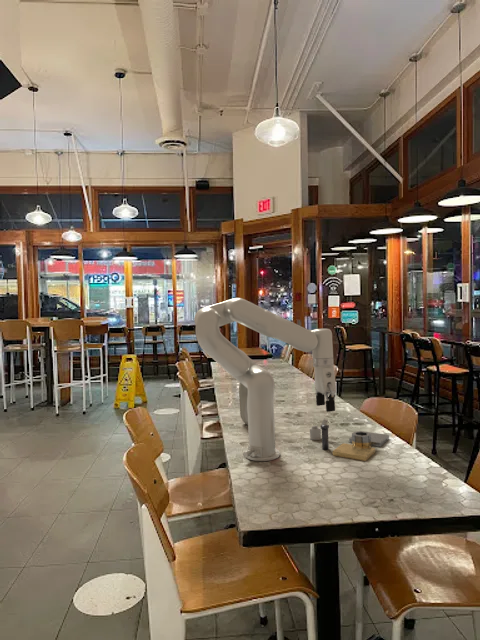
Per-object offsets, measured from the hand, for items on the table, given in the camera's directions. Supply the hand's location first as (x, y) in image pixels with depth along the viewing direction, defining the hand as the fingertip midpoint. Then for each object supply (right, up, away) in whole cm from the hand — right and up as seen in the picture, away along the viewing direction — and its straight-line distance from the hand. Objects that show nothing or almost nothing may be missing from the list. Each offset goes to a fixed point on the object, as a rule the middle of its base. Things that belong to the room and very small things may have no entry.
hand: (325, 408), depth 165 cm
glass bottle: (-26, -15, +38) cm, 49 cm away
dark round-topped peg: (0, -15, +1) cm, 15 cm away
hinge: (+14, -15, +1) cm, 20 cm away
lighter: (0, -15, +13) cm, 20 cm away
